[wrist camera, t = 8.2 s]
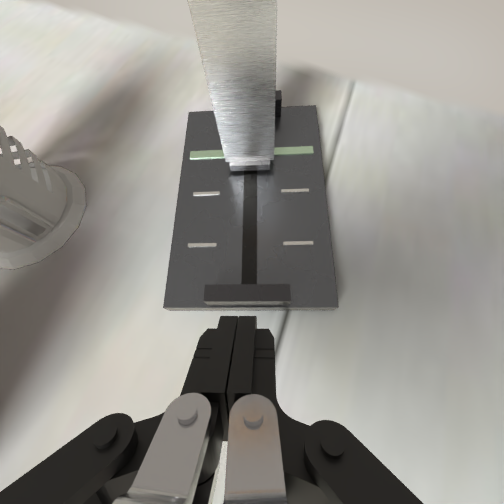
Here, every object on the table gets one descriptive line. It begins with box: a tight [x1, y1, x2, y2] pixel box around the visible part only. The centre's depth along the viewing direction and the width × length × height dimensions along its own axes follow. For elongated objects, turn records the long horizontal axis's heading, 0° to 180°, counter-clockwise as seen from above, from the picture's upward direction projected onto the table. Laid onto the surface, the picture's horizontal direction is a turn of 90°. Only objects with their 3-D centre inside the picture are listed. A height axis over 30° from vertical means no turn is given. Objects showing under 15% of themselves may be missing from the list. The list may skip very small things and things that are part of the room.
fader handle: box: [188, 0, 277, 171], centre depth 14 cm, size 4×4×13 cm
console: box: [163, 91, 338, 311], centre depth 19 cm, size 17×11×3 cm, turn 0°
